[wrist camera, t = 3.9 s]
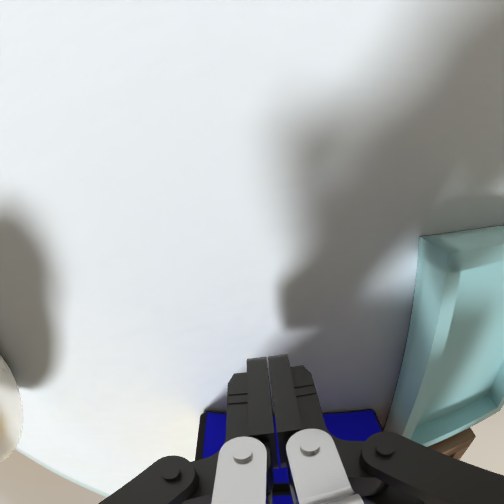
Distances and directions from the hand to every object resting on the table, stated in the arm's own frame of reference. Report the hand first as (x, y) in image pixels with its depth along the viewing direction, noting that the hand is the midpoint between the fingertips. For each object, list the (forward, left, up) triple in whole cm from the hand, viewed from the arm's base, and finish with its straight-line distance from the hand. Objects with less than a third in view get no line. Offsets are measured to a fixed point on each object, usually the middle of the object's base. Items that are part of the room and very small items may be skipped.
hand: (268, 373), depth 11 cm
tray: (+3, +12, -2) cm, 13 cm away
